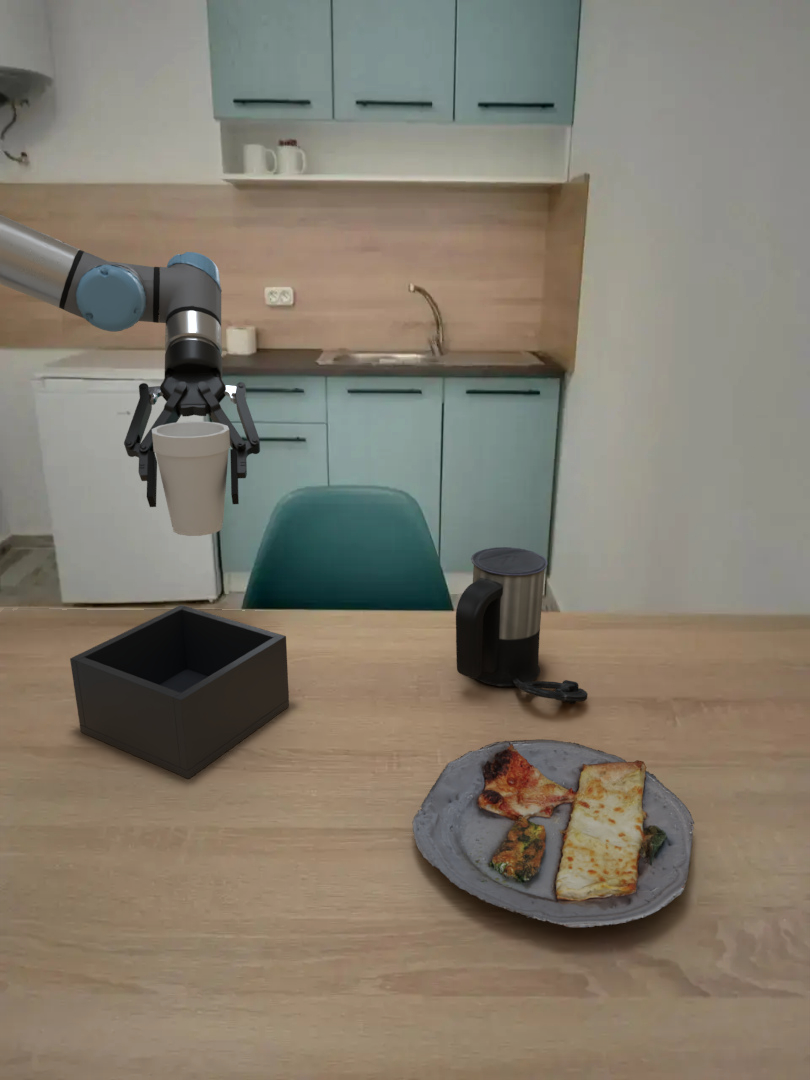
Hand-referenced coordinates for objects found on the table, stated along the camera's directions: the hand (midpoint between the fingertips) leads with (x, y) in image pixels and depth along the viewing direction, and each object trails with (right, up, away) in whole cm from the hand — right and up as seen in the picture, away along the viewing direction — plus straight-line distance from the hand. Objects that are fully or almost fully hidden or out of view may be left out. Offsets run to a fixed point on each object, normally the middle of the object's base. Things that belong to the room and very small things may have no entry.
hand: (193, 500), depth 103 cm
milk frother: (+41, -22, -3) cm, 47 cm away
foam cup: (-1, -3, +5) cm, 6 cm away
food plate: (+40, -32, -28) cm, 58 cm away
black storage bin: (+2, -25, -11) cm, 27 cm away
